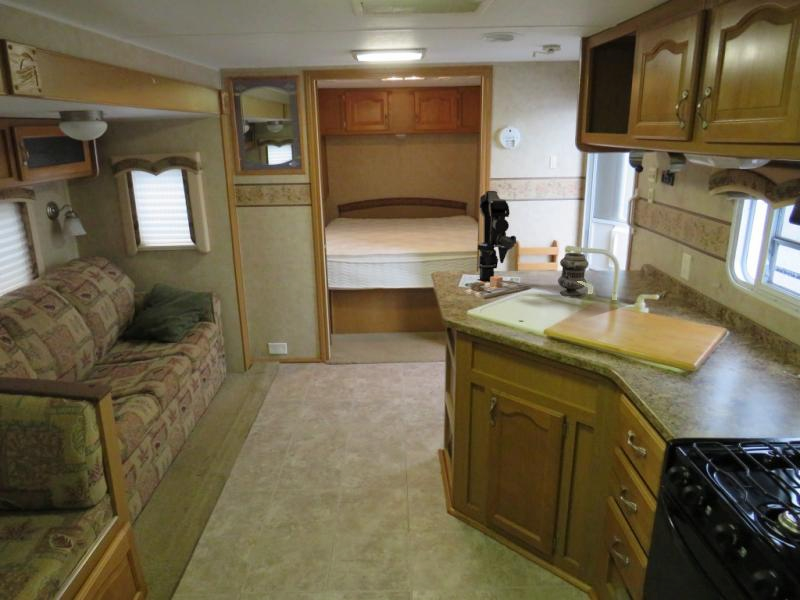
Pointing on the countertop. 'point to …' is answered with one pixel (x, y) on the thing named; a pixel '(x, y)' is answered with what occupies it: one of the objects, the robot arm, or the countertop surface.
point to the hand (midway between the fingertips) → (495, 264)
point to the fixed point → (478, 286)
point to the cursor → (497, 281)
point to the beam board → (498, 289)
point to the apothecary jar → (572, 274)
